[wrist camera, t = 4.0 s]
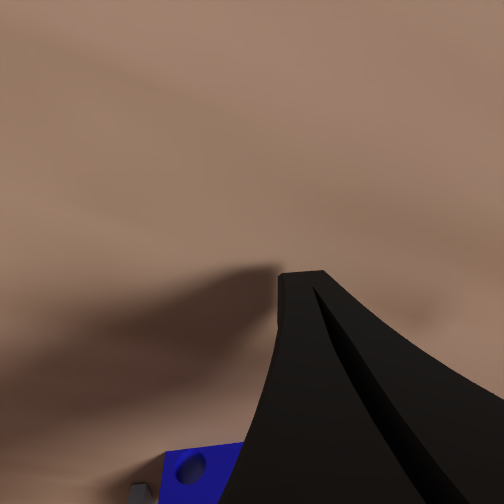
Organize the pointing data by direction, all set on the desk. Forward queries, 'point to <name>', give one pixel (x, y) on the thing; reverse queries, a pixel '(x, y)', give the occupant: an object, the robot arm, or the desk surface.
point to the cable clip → (197, 474)
